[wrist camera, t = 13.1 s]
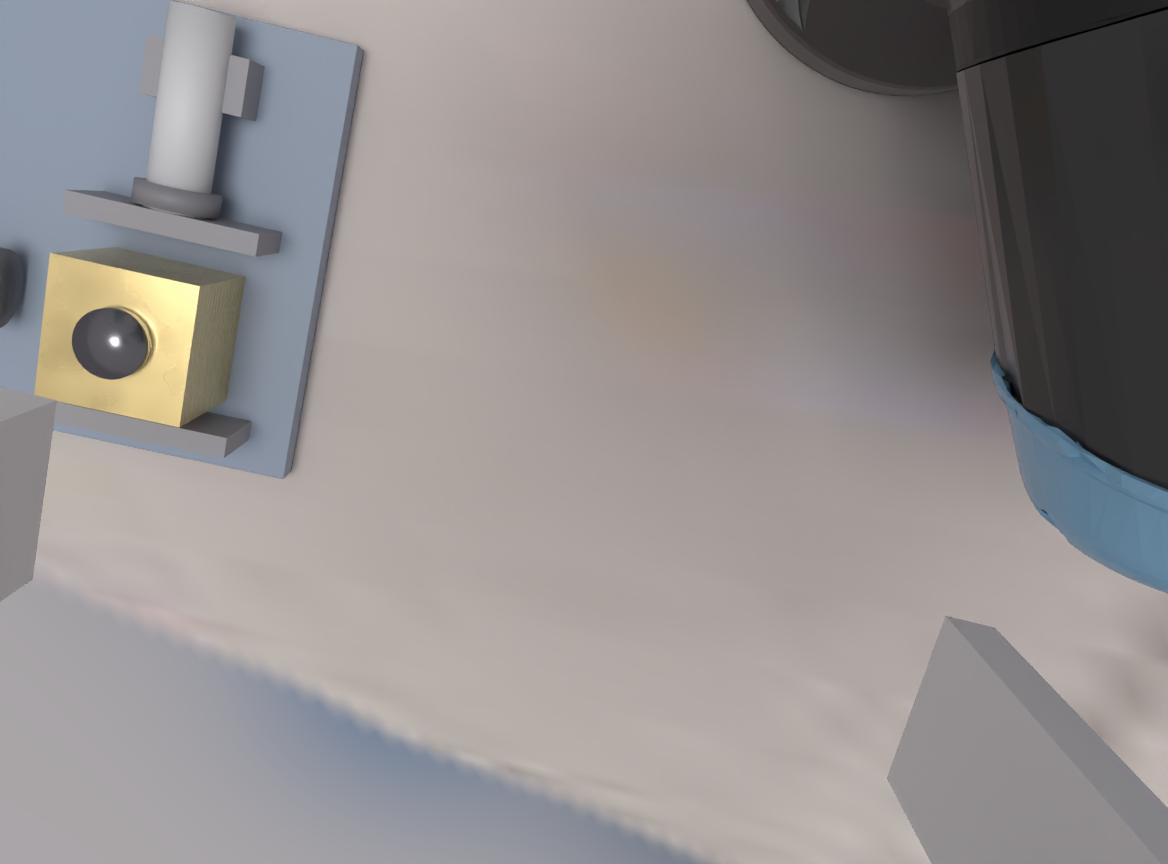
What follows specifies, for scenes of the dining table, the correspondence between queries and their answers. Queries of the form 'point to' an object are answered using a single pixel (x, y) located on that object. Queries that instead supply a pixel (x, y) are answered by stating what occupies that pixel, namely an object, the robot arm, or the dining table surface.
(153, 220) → the shaft bench
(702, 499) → the dining table surface
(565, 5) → the dining table surface
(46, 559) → the dining table surface
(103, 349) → the block
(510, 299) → the dining table surface
